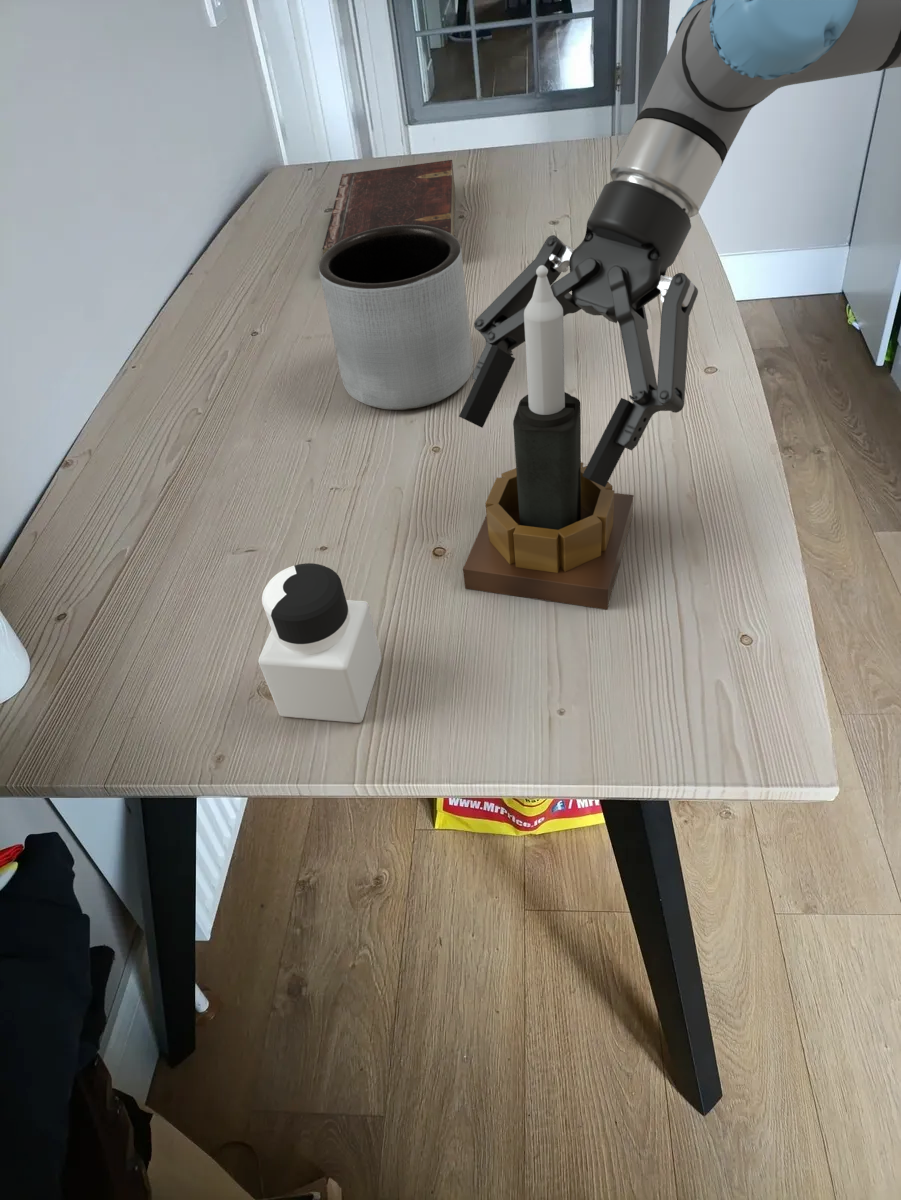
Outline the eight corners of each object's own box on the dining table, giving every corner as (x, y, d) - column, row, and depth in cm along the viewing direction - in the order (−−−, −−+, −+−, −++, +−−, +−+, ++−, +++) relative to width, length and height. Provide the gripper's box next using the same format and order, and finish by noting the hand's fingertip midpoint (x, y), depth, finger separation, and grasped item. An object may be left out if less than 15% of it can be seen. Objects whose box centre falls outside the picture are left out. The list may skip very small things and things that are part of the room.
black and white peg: (575, 550, 78) (572, 282, 61) (518, 546, 79) (500, 282, 62) (582, 514, 82) (582, 250, 64) (528, 510, 83) (513, 250, 65)
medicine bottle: (383, 658, 75) (357, 554, 67) (362, 725, 70) (332, 622, 62) (304, 652, 76) (269, 550, 68) (278, 718, 72) (237, 616, 63)
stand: (632, 515, 85) (635, 460, 80) (607, 610, 76) (609, 554, 72) (503, 500, 88) (498, 446, 84) (465, 588, 80) (457, 535, 75)
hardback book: (345, 202, 149) (339, 172, 146) (455, 191, 148) (452, 159, 144) (327, 279, 129) (320, 245, 125) (454, 266, 127) (450, 232, 124)
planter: (368, 342, 114) (345, 222, 103) (487, 347, 110) (477, 222, 99) (325, 412, 103) (294, 286, 92) (455, 419, 99) (440, 289, 88)
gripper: (810, 259, 64) (672, 520, 68) (552, 192, 78) (450, 412, 82) (782, 211, 58) (632, 500, 62) (508, 148, 72) (400, 388, 76)
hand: (528, 451), depth 72 cm, fingers open, 13 cm apart
